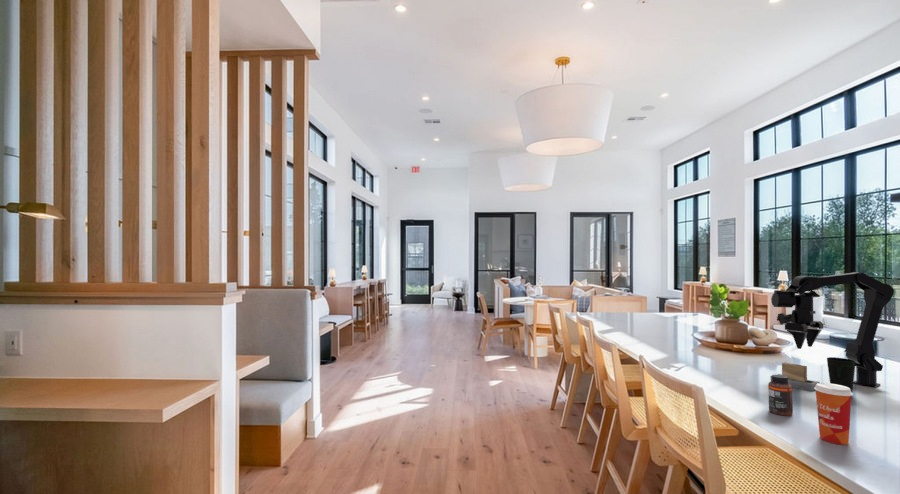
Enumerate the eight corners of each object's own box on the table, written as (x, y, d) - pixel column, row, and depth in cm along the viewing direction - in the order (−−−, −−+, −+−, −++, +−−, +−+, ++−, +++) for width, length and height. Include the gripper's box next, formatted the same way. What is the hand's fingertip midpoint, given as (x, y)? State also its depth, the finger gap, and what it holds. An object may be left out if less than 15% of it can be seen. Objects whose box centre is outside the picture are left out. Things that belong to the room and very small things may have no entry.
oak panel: (785, 380, 170) (785, 362, 170) (807, 385, 164) (806, 366, 164) (782, 381, 168) (781, 363, 169) (804, 385, 162) (803, 366, 163)
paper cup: (807, 434, 118) (806, 382, 118) (833, 434, 118) (832, 382, 119) (835, 447, 110) (834, 390, 110) (863, 446, 111) (862, 390, 111)
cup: (844, 390, 159) (844, 357, 160) (862, 397, 152) (861, 362, 152) (821, 389, 160) (821, 356, 161) (838, 396, 153) (837, 361, 153)
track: (779, 380, 173) (779, 373, 173) (819, 388, 162) (819, 381, 162) (770, 382, 170) (770, 376, 170) (811, 391, 158) (811, 384, 159)
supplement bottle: (788, 411, 137) (787, 374, 137) (796, 417, 131) (795, 379, 132) (765, 408, 139) (765, 372, 139) (772, 414, 133) (772, 377, 133)
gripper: (790, 305, 185) (791, 342, 185) (769, 307, 176) (769, 346, 175) (823, 307, 176) (824, 346, 175) (802, 309, 166) (803, 351, 166)
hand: (804, 347), depth 173 cm, fingers open, 9 cm apart
